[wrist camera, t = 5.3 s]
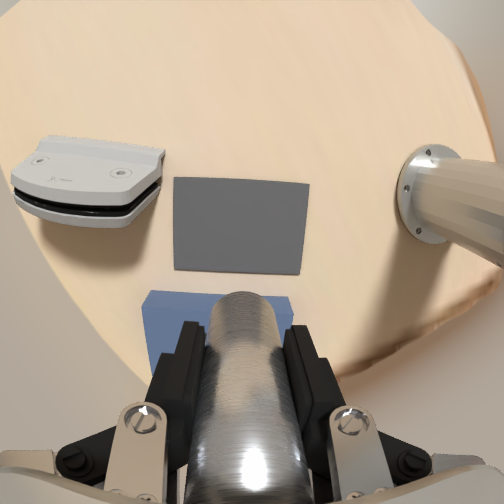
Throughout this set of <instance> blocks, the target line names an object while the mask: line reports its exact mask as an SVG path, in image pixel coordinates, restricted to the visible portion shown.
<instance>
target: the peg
mask: <svg viewBox="0 0 504 504" xmlns="http://www.w3.org/2000/svg"><path fill="white" fill-rule="evenodd" d="M183 504H315V501H314V497H313V492H312V487H311V482H310V477H309V472H308V467H307V462H306V457H305V452H304V448H303V443H302V438H301V433H300V428H299V424H298V419H297V415H296V410H295V405H294V400H293V396H292V391H291V386H290V382H289V377H288V372H287V368H286V363H285V358H284V354H283V349H282V344H281V340H280V335H279V331H278V326H277V321H276V317H275V313H274V310H273V308H272V306H271V304H270V303H269V302H268V301H267V300H266V299H265V298H263V297H262V296H260V295H258V294H255V293H252V292H245V291H240V292H234V293H230V294H227V295H225V296H224V297H222V298H221V299H219V300H218V301H217V302H216V303H215V305H214V306H213V308H212V310H211V313H210V318H209V324H208V330H207V336H206V342H205V351H204V357H203V363H202V370H201V376H200V383H199V390H198V397H197V404H196V411H195V418H194V425H193V429H192V436H191V443H190V451H189V459H188V467H187V476H186V485H185V493H184V503H183Z"/></svg>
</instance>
